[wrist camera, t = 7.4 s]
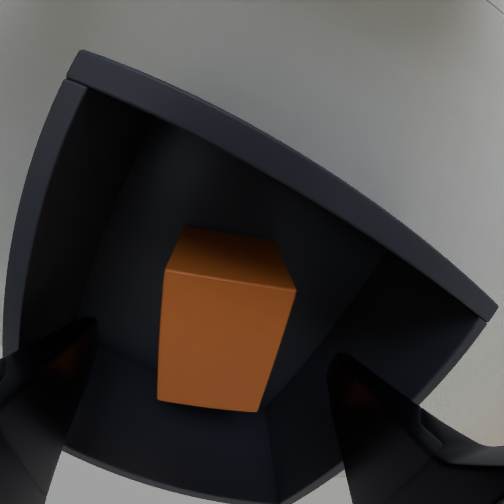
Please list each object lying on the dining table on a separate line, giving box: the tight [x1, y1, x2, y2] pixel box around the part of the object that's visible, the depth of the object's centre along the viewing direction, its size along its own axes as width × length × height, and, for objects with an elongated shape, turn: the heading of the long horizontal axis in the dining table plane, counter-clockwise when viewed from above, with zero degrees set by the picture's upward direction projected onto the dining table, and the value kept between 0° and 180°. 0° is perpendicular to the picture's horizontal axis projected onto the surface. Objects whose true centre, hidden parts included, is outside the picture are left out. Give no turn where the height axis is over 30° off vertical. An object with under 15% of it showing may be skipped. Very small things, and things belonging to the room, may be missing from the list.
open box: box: [3, 50, 498, 504], centre depth 10 cm, size 12×12×7 cm
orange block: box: [157, 226, 297, 412], centre depth 11 cm, size 5×4×4 cm
